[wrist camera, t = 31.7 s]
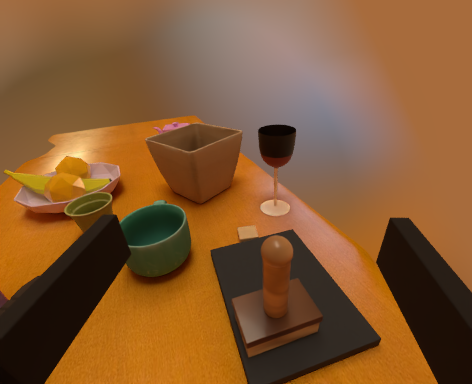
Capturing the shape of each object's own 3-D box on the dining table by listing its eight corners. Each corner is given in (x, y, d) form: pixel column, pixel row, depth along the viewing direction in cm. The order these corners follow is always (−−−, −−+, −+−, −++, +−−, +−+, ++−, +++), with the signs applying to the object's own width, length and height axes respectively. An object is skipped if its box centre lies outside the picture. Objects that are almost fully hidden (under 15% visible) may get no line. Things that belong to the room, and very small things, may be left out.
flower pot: (246, 184, 73) (244, 129, 64) (200, 215, 61) (190, 152, 52) (203, 170, 84) (196, 122, 75) (157, 193, 72) (143, 138, 63)
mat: (378, 344, 32) (381, 338, 31) (251, 396, 28) (251, 390, 27) (292, 234, 52) (292, 229, 51) (211, 255, 48) (210, 249, 47)
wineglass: (285, 197, 65) (289, 123, 55) (295, 215, 58) (301, 134, 48) (256, 200, 65) (255, 126, 55) (263, 219, 58) (262, 137, 48)
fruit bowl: (141, 178, 82) (131, 146, 76) (86, 228, 59) (67, 188, 53) (70, 177, 87) (56, 146, 81) (-7, 223, 63) (-34, 185, 58)
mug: (189, 284, 42) (179, 243, 38) (118, 289, 42) (100, 249, 38) (199, 226, 57) (192, 191, 52) (146, 229, 57) (135, 195, 52)
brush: (296, 293, 38) (304, 213, 30) (320, 332, 32) (337, 246, 25) (233, 314, 35) (223, 233, 28) (247, 360, 30) (241, 274, 22)
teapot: (185, 139, 116) (181, 117, 111) (202, 145, 108) (199, 120, 102) (157, 148, 108) (151, 124, 102) (173, 155, 99) (167, 129, 94)
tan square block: (258, 242, 51) (258, 236, 50) (240, 244, 50) (239, 239, 50) (255, 230, 54) (254, 225, 53) (237, 232, 54) (237, 227, 53)
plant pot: (99, 252, 51) (83, 219, 47) (70, 241, 55) (54, 210, 50) (132, 226, 58) (121, 195, 54) (105, 218, 62) (92, 189, 58)
